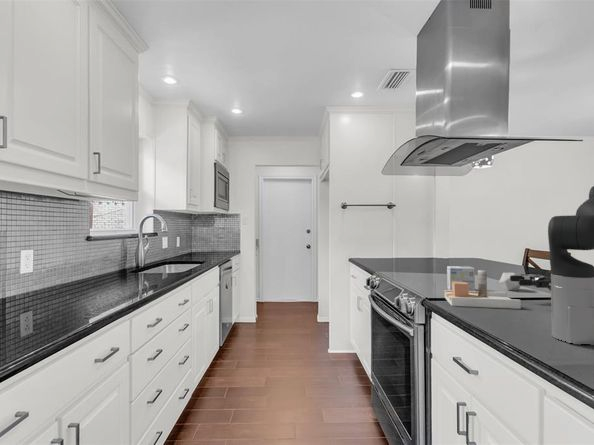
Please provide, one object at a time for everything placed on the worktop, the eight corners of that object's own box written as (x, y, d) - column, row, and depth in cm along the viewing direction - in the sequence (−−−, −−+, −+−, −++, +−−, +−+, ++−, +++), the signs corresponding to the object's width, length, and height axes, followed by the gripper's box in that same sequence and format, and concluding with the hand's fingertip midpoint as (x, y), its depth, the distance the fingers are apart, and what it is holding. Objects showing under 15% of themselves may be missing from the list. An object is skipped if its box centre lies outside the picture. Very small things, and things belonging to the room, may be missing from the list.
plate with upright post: (491, 302, 122) (491, 272, 122) (450, 300, 125) (450, 271, 125) (482, 295, 132) (482, 268, 132) (445, 294, 136) (444, 268, 136)
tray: (520, 308, 118) (520, 300, 118) (451, 305, 124) (451, 297, 124) (506, 299, 132) (506, 292, 132) (444, 297, 137) (444, 290, 137)
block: (468, 297, 127) (468, 284, 126) (454, 296, 128) (454, 283, 128) (465, 294, 131) (465, 281, 131) (451, 293, 133) (451, 281, 133)
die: (522, 294, 144) (529, 275, 147) (503, 284, 145) (510, 265, 148) (511, 296, 152) (517, 278, 155) (493, 287, 153) (499, 269, 156)
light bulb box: (471, 288, 154) (470, 265, 154) (475, 291, 147) (475, 268, 147) (446, 288, 156) (446, 265, 156) (450, 291, 149) (449, 267, 149)
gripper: (554, 268, 128) (507, 267, 132) (575, 274, 114) (522, 273, 118) (554, 287, 128) (507, 286, 132) (575, 295, 114) (522, 294, 118)
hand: (514, 280), depth 125 cm, fingers open, 8 cm apart
